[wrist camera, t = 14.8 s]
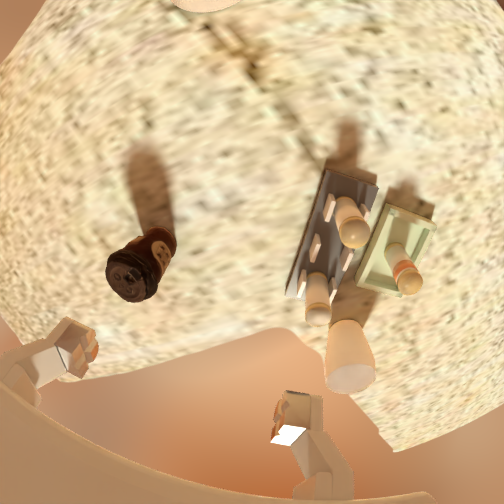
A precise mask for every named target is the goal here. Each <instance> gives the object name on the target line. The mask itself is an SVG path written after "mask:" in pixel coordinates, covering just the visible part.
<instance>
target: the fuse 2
mask: <svg viewBox="0 0 504 504" xmlns="http://www.w3.org/2000/svg"><path fill="white" fill-rule="evenodd" d="M335 201H336V204H335V207H334V210H333V212H332V214H333V216H334V219H335V222H336V225H337V228H338V231H339V236H340V239H341V241H342V243H343V244H344V245H345V246H347V247H349V248H359V247H362V246H363V245H365V244H366V243H367V241H368V240H369V238H370V228H369V226H368V224H367V222H366V221H365V220H364V218H363V216H362V214H361V213H360V211H359V209H358V207H357V205H356V203H355V202H354V200H353V199H352V198H350V197H348V196H340V197H338V198H336V199H335Z"/></svg>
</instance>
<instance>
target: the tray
mask: <svg viewBox="0 0 504 504" xmlns="http://www.w3.org/2000/svg"><path fill="white" fill-rule="evenodd" d="M436 228H437V225H436V224H435V223H434V222H433V221H432V220H430V219H427V218H425V217H422V216H420V215H417V214H415V213H412V212H410V211H407V210H404V209H402V208H399V207H396V206H394V205H391V204H388V203H386V204H385V207H384V209H383V212H382V214H381V217H380V219H379V222H378V224H377V227H376V229H375V232H374V234H373V236H372V239H371V241H370V243H369V246H368V248H367V250H366V253H365V255H364V257H363V259H362V262H361V264H360V266H359V268H358V270H357V272H356V275H355V277H354V280H355V284H356V286H357V287H360V288H364V289H368V290H372V291H376V292H380V293H384V294H388V295H392V296H396V297H400V298H401V297H402V295H403V294H402V293H401V292H400V291H399V288H398V286H397V284H396V281H395V279H394V277H393V274H392V272H391V269H390V267H389V265H388V263H387V261H386V259H385V257H384V250H385V248H386V247H387V246H388V245H389V244H390V243H393V242H399V243H401V244H402V245H403V246H404V248H405V250H406V252H407V253H408V255H409V257H410V258H411V260H412V262H413V263H414V265H415V266H416V268H418V266H419V264H420V262H421V260H422V258H423V256H424V254H425V252H426V250H427V248H428V246H429V244H430V241H431V239H432V237H433V235H434V233H435V231H436Z"/></svg>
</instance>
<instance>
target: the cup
mask: <svg viewBox="0 0 504 504" xmlns="http://www.w3.org/2000/svg"><path fill="white" fill-rule="evenodd" d="M324 373H325V382H326V386H327V387H328V389H329V390H331V391H333V392H336V393H340V394H350V393H356V392H359V391H362V390H364V389H366V388H367V387H369V386H370V385H371V384H372V383H373V382H374V381H375V379H376V368H375V359H374V356H373V354H372V351H371V349H370V347H369V344H368V342H367V339H366V337H365V335H364V332H363V330H362V328H361V326H360V324H359V323H358V322H356V321H354V320H349V319H347V320H341V321H338V322H336V323H335V324H333V325H332V326H331V327H330V329H329V332H328V341H327V349H326V357H325V364H324Z"/></svg>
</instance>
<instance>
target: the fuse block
mask: <svg viewBox="0 0 504 504" xmlns="http://www.w3.org/2000/svg"><path fill="white" fill-rule="evenodd" d="M378 189H379V188H378V187H377V186H376V185H373V184H371V183H368V182H365V181H362V180H359V179H356V178H353V177H350V176H347V175H344V174H341V173H338V172H335V171H332V170H328V169H326V170H325V173H324V177H323V180H322V183H321V186H320V190H319V193H318V196H317V199H316V202H315V205H314V209H313V212H312V215H311V218H310V221H309V224H308V227H307V230H306V233H305V236H304V239H303V242H302V245H301V248H300V251H299V254H298V257H297V260H296V262H295V265H294V268H293V271H292V274H291V277H290V280H289V282H288V285H287V288H286V291H285V296H286V297H290V298H294V299H298V300H302V301H305V285H306V283H307V281H306V276H307V275H308V274H309V273H311V272H314V271H319V272H322V273H324V274H325V275H326V277H327V282H328V292H329V299H330V305H331V302H332V300H333V298H334V296H335V294H336V292H337V289H338V286H339V284H340V282H341V280H342V278H343V276H344V273H345V271H346V270H347V268H348V266H349V263H350V261H351V259H352V256H353V253H354V250H355V248H349V247H347V246H345V245H344V244H343V243H342V241H341V239H340V236H339V231H338V228H337V225H336V222H335V219H334V216H333V214H332V212H333V210H334V207H335V204H336V201H335V199H336V198H338V197H340V196H348V197H350V198H352V199H353V200H354V202H355V203H356V205H357V207H358V209H359V211H360V213H361V214H362V216H363V218H364V220H365V221H366V222H367V220H368V217H369V215H370V211H371V208H372V205H373V203H374V200H375V197H376V194H377V192H378Z"/></svg>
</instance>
